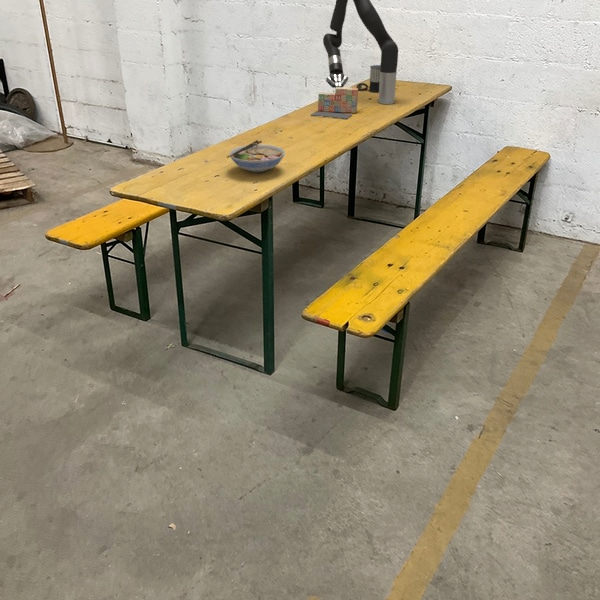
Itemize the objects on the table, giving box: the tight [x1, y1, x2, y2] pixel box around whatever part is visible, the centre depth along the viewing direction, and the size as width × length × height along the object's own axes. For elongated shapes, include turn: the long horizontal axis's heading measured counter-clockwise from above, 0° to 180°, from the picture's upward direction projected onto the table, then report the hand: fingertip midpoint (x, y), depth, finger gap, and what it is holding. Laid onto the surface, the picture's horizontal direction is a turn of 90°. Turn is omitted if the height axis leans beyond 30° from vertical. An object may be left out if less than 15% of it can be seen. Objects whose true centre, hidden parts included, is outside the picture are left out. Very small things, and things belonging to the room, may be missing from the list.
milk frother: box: [355, 64, 381, 94], centre depth 387 cm, size 14×16×15 cm
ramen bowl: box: [226, 139, 286, 174], centre depth 256 cm, size 25×23×8 cm
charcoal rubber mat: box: [310, 110, 354, 120], centre depth 335 cm, size 9×21×1 cm, turn 67°
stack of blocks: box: [317, 86, 359, 114], centre depth 340 cm, size 21×6×12 cm, turn 84°
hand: (338, 93), depth 343 cm, fingers closed
